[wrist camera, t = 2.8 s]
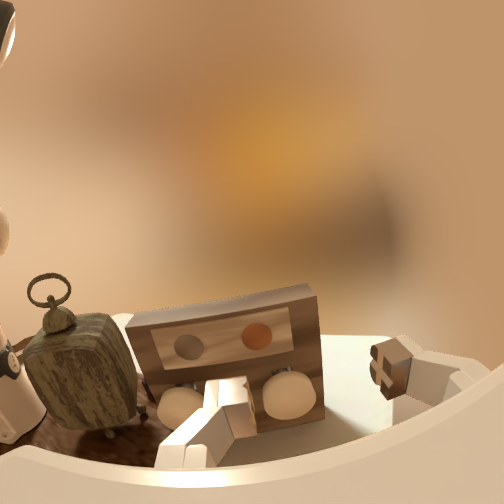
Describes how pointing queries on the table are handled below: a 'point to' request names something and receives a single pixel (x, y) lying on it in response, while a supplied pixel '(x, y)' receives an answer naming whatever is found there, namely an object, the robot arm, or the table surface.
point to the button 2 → (288, 395)
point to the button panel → (233, 345)
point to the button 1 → (179, 405)
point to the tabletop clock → (81, 367)
